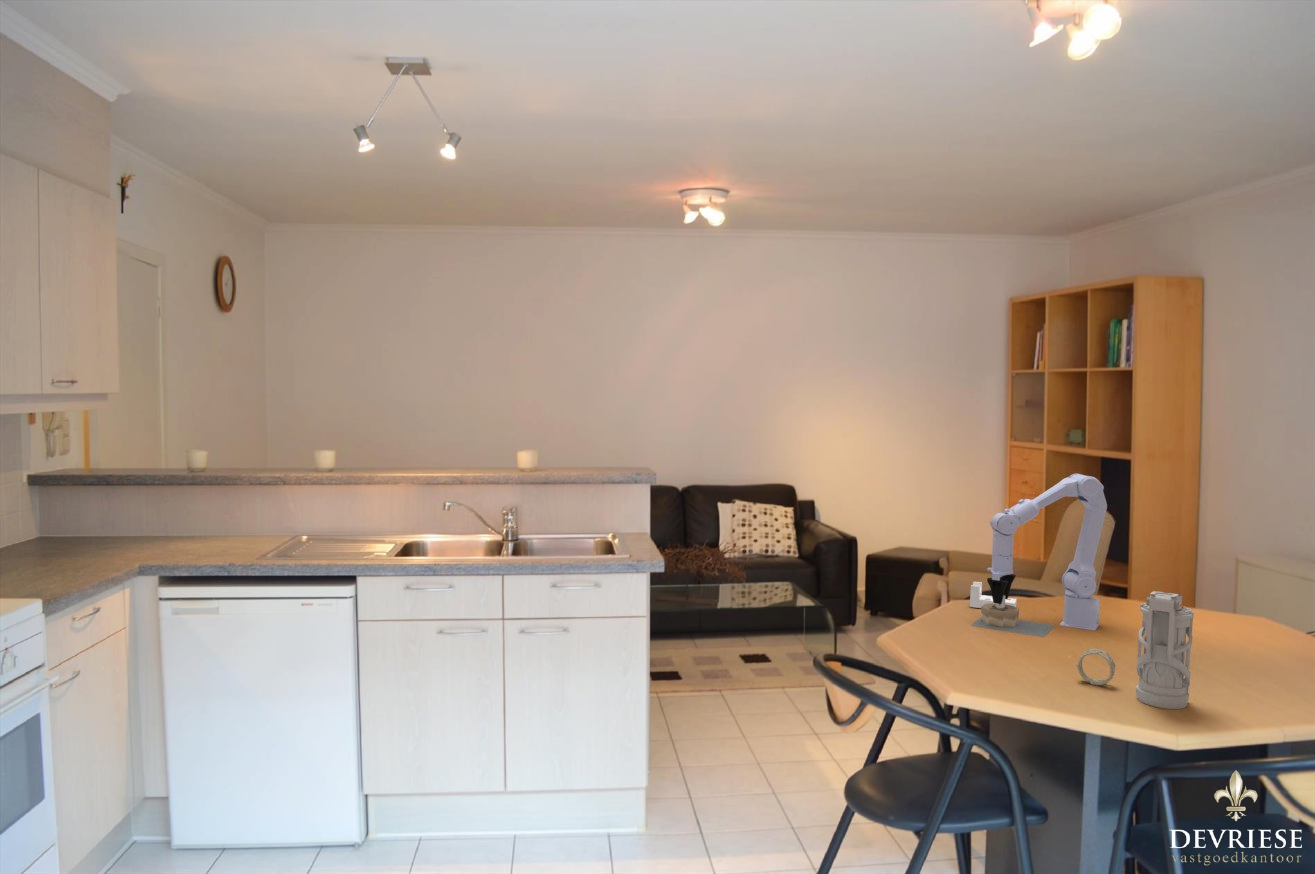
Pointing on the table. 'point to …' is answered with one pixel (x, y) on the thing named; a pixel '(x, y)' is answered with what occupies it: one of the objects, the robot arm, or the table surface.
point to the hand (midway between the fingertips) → (1000, 600)
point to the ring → (999, 615)
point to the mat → (1020, 627)
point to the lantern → (1164, 651)
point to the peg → (1002, 605)
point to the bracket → (984, 597)
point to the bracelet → (1105, 656)
